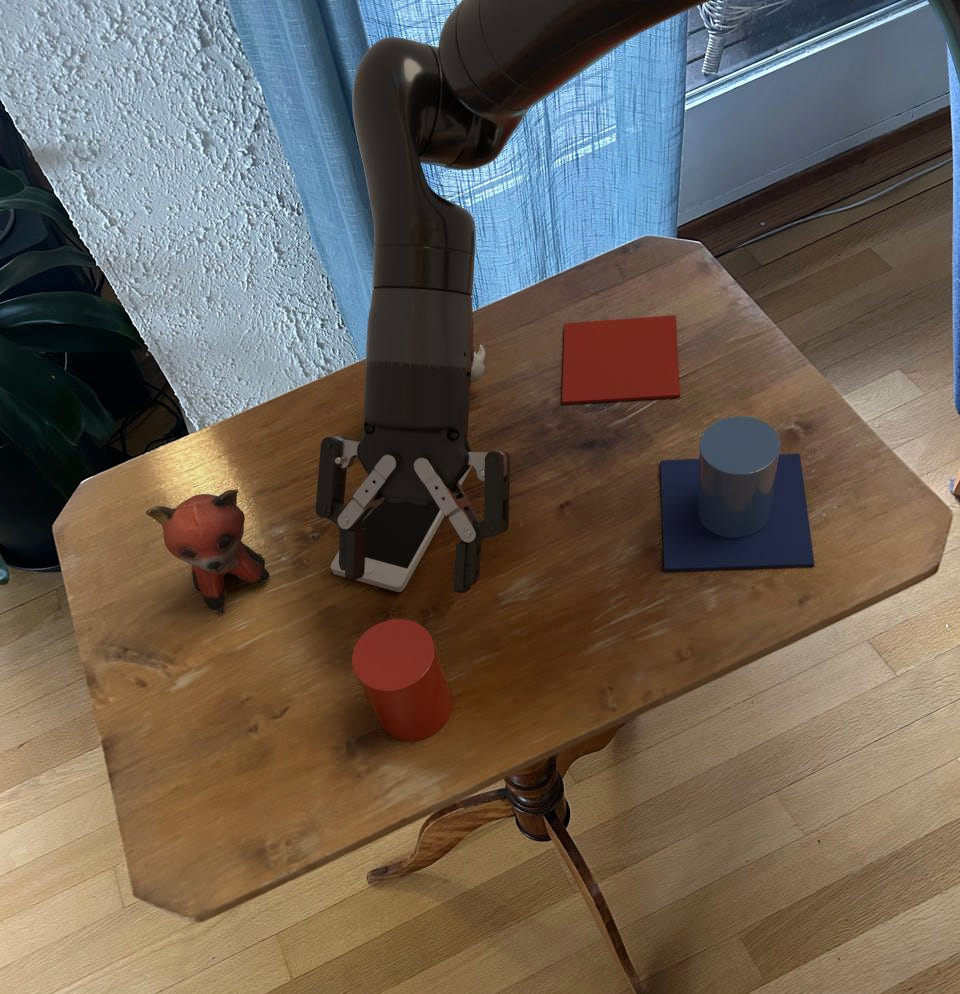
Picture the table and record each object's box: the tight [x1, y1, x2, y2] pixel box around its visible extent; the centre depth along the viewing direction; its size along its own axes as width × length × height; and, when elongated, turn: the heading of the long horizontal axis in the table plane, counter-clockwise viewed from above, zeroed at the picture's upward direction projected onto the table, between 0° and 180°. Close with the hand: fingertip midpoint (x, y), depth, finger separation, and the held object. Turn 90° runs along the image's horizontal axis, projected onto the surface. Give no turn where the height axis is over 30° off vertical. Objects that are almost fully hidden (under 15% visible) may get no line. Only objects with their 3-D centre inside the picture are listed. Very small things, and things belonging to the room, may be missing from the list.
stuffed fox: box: [145, 488, 271, 615], centre depth 88 cm, size 8×11×12 cm
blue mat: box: [660, 453, 815, 572], centre depth 87 cm, size 12×12×1 cm
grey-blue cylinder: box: [697, 415, 781, 538], centre depth 84 cm, size 6×6×8 cm
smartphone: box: [330, 466, 473, 593], centre depth 92 cm, size 7×15×1 cm, turn 156°
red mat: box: [561, 314, 681, 406], centre depth 99 cm, size 11×11×1 cm
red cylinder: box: [351, 618, 454, 742], centre depth 79 cm, size 6×6×8 cm
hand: (407, 584), depth 76 cm, fingers open, 8 cm apart
